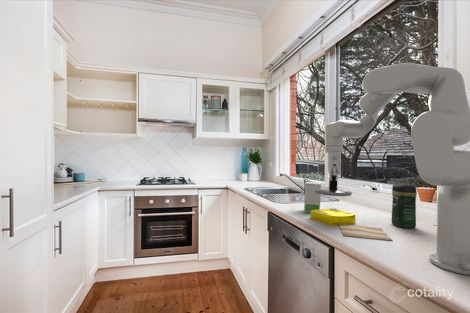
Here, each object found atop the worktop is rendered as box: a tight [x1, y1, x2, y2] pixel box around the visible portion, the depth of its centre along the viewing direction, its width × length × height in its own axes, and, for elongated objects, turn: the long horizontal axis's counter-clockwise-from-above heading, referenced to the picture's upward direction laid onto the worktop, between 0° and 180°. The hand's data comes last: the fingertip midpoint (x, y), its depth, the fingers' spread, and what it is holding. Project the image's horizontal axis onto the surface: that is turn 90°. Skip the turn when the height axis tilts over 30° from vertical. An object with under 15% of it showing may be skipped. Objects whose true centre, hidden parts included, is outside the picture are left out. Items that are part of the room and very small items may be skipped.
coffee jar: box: [391, 182, 418, 229], centre depth 110 cm, size 10×8×19 cm
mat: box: [338, 224, 393, 242], centre depth 100 cm, size 16×16×1 cm
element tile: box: [310, 207, 356, 227], centre depth 118 cm, size 15×15×5 cm
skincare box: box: [303, 181, 322, 213], centre depth 137 cm, size 8×7×16 cm
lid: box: [315, 177, 353, 197], centre depth 118 cm, size 16×16×7 cm
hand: (333, 188), depth 118 cm, fingers closed on lid, 3 cm apart
